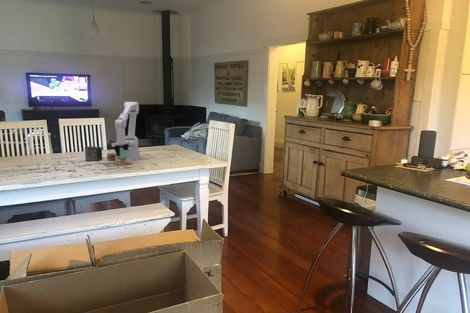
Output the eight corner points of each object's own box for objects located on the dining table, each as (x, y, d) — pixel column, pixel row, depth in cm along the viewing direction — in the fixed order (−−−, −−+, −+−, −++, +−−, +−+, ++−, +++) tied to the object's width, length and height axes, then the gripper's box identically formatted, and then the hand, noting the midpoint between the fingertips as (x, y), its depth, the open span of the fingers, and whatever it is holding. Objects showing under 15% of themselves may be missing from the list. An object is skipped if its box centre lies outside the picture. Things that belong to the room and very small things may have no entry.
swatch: (114, 164, 251) (114, 164, 251) (116, 166, 247) (116, 165, 247) (107, 165, 248) (107, 165, 248) (109, 166, 244) (109, 166, 244)
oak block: (125, 162, 259) (125, 157, 258) (128, 164, 254) (128, 158, 253) (115, 163, 255) (115, 158, 254) (118, 165, 250) (118, 159, 249)
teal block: (122, 156, 257) (122, 149, 256) (127, 157, 254) (127, 150, 253) (116, 157, 253) (115, 150, 252) (120, 158, 250) (120, 151, 249)
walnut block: (114, 160, 270) (114, 153, 269) (117, 161, 265) (116, 154, 264) (107, 160, 267) (107, 153, 266) (109, 162, 262) (109, 154, 261)
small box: (102, 160, 268) (102, 146, 266) (97, 162, 261) (96, 148, 259) (90, 159, 270) (90, 145, 268) (85, 161, 264) (84, 147, 262)
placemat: (126, 161, 264) (126, 161, 264) (133, 165, 253) (133, 164, 253) (101, 164, 254) (101, 163, 254) (107, 168, 243) (107, 167, 243)
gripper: (125, 134, 259) (126, 153, 261) (108, 137, 247) (109, 156, 249) (131, 135, 255) (132, 154, 257) (115, 138, 243) (115, 157, 246)
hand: (121, 155), depth 253 cm, fingers closed on teal block, 5 cm apart
